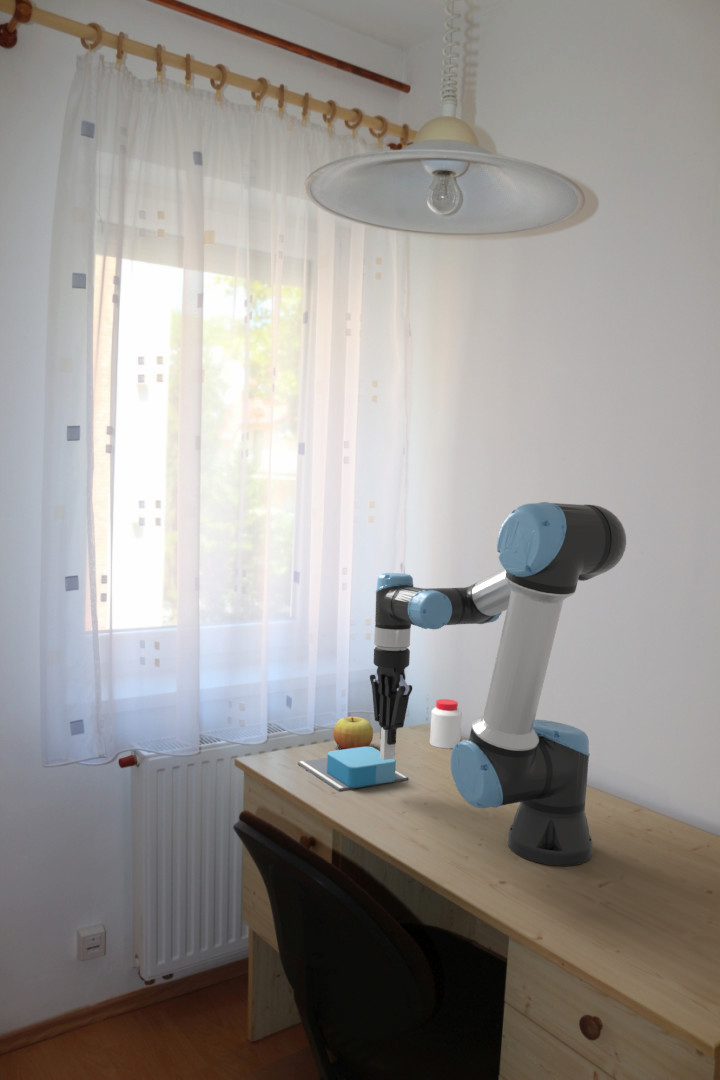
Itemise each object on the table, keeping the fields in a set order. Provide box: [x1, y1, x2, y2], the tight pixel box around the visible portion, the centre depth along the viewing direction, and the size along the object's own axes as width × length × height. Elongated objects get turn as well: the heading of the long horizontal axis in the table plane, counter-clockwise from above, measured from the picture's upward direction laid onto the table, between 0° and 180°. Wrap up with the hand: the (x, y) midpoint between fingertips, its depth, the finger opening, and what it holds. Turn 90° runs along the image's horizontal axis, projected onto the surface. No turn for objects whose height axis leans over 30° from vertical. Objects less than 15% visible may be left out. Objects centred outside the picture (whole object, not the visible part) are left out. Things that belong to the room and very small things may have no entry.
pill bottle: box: [429, 698, 462, 750], centre depth 220 cm, size 8×8×11 cm
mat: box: [297, 757, 409, 792], centre depth 196 cm, size 19×18×1 cm
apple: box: [332, 716, 374, 750], centre depth 213 cm, size 10×10×8 cm
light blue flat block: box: [326, 746, 397, 788], centre depth 192 cm, size 12×4×12 cm
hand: (387, 758), depth 182 cm, fingers closed
